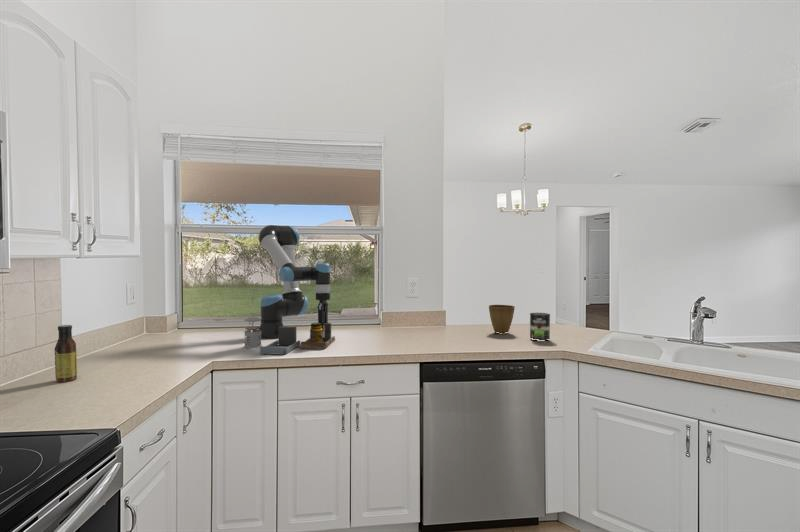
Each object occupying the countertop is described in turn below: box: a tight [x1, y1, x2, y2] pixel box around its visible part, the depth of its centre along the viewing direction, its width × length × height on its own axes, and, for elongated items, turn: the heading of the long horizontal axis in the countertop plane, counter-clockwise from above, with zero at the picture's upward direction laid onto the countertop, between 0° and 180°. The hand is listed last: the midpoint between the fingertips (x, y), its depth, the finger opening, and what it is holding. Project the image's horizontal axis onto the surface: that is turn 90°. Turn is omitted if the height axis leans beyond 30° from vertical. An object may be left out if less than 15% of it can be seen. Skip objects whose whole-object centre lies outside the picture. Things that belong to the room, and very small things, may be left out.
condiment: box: [309, 322, 324, 342], centre depth 212 cm, size 7×8×12 cm
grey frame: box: [259, 325, 301, 355], centre depth 208 cm, size 22×12×9 cm, turn 176°
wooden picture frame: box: [300, 322, 336, 350], centre depth 219 cm, size 22×12×9 cm, turn 176°
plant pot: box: [488, 304, 515, 333], centre depth 254 cm, size 15×15×16 cm
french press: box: [242, 296, 263, 350], centre depth 214 cm, size 10×12×25 cm
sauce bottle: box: [54, 324, 78, 383], centre depth 155 cm, size 7×6×20 cm
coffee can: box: [529, 312, 551, 340], centre depth 233 cm, size 10×10×14 cm
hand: (323, 336), depth 229 cm, fingers closed on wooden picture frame, 3 cm apart
